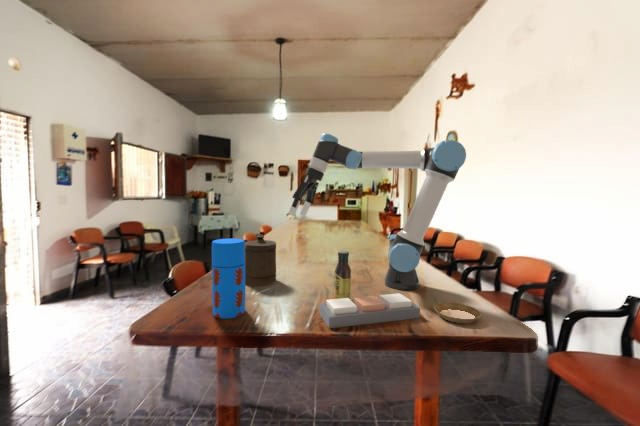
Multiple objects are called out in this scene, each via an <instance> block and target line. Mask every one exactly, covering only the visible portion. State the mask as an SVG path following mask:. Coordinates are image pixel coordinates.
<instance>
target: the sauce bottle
mask: <svg viewBox="0 0 640 426" xmlns="http://www.w3.org/2000/svg"><path fill="white" fill-rule="evenodd" d="M349 255H350V252H349V251H348V250H339V251H337V258H338V259H337V261H338V262H337V264H336V267H335V270H334V281H333V299H341V298H349V299H350V300H351V290H352V289H351V285H352V269H351V266H350V264H349Z"/></svg>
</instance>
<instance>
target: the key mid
mask: <svg viewBox="0 0 640 426" xmlns="http://www.w3.org/2000/svg"><path fill="white" fill-rule="evenodd" d="M378 298H379V297H377V296H376V295H366V296H356V297H353V300H354V304H355V305H356V306H357V307H358V308H359V309H360V310H361V311H362V312H365V311H375V310H385V303H384V302H382V301H381V300H380V299H378Z"/></svg>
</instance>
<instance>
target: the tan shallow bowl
mask: <svg viewBox="0 0 640 426" xmlns="http://www.w3.org/2000/svg"><path fill="white" fill-rule="evenodd" d="M433 309H434V312H436V314H437V315H438V316H439V317H440V318H442V319H443V320H445V321H447V320H448V321H447V322H450V321H451V323H454V322H456V324H460V323H468V324H472V323H474V322H475V321H478V320H479V319H480V317H482V313H481V312H480V310H478V309H477V308H475V307H472V306H470V305H466V304H462V303H456V302H439V303H436V304H435V305H433ZM448 309H451V310H460V311H465V312H468V313H470V314H472V315H474V316H475V318H474V319H460V318H454V317H449V316H446V315H443V314H441V313H440V312H441V311H442V310H448ZM471 322H472V323H471Z"/></svg>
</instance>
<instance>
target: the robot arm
mask: <svg viewBox="0 0 640 426" xmlns="http://www.w3.org/2000/svg"><path fill="white" fill-rule="evenodd" d="M466 159H467V152H466V148H465V147H464V145H463V144H462V143H461V142H459V141H458V140H453V139H446V140H442V141H440V142H438V143H437V144H436V145H435V146H434V147H430V148H429V147H427V148H423V149H421V150H398V151H397V150H391V151H389V150H388V151H386V150H385V151H381V150H380V151H375V150H373V151H357V150H356V149H353V148H350V147H348V146H344V145H342V144H340V143H339V139H338V138H337V136H334V135H333V134H330V133H322V134H321V136H320V138H319V139H318V141H317V145H316V147H315V149H314V151H313V154H312V157H311V158H310V159H309V166H308V167H307V168H306V171H305V176H304V177H303V179H302V181H301V182H300V184H299V185H298V187H297V189H296V190H295V192H294V193H293V195H292V199H293V201H292V203H291V206H290V209H289V211H288V214H289V215H291V216H293V217H294V216H296V213H297V211H298V209H299V206H300V203H301V200H302V199H303V197H304V196H305V195H306V200H305V201H304V203H303V205H302V208H301V210H300V212H299V215H300V216H303V217H307V215H308V214H307V213H308V211H309V209H310V207H311V204H314V202H315V199H316V194H317V190H318V186H319V182H321V181H323V178H324V175H325V174H324V173H325V172H326V170H327V169H328V167H329V163H330V162H334V163H336V164H339V165H340V166H341V165H342V166H343V167H346V168H347V169H350V170H357V169H420V170H421V172H425V174H426V176H425V177H424V180H423V182H422V185H421V187H420V190H419V192H418V194H417V197H416V198H415V201H414V204H413V205H412V208H411V210H410V213H409V214H408V217H407V220H406V221H405V224H404V226H403V229H402V230H400V231H398V232H397V233H396V234H390V236H389V241H388V242H389V248H388V249H389V250H388V251H389V252H388V254H387V255H388V256H387V257H388V269H387V272H386V274H385V277H384V285H385V286H387V287H389V288H392V289H395V290H401V291H402V290H404V291H405V290H406V291H408V290H410V291H411V290H416V289H418V288H419V287H420V280H419V276H418V274H417V273H418V272H417V270H416V269H417V267H418V265H419V263H420V258H421V254H422V252H423V250H424V248H425V245H426V243H425V241H424V237H425V235H426V234H427V231H428V229H429V226H430V225H431V222H432V220H433V218H434V216H435V213H436V212H437V209H438V206H440V205H439V204H440V202H441V200H442V198H443V195H444V193H445V191H446V189H447V187H448V184H449V183H451V182H454V181H455V179H456V176H457V174H458V172H459V170H460V168H461V167H462V166H463V165H464V164H465V162H466ZM318 181H319V182H318Z"/></svg>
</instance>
